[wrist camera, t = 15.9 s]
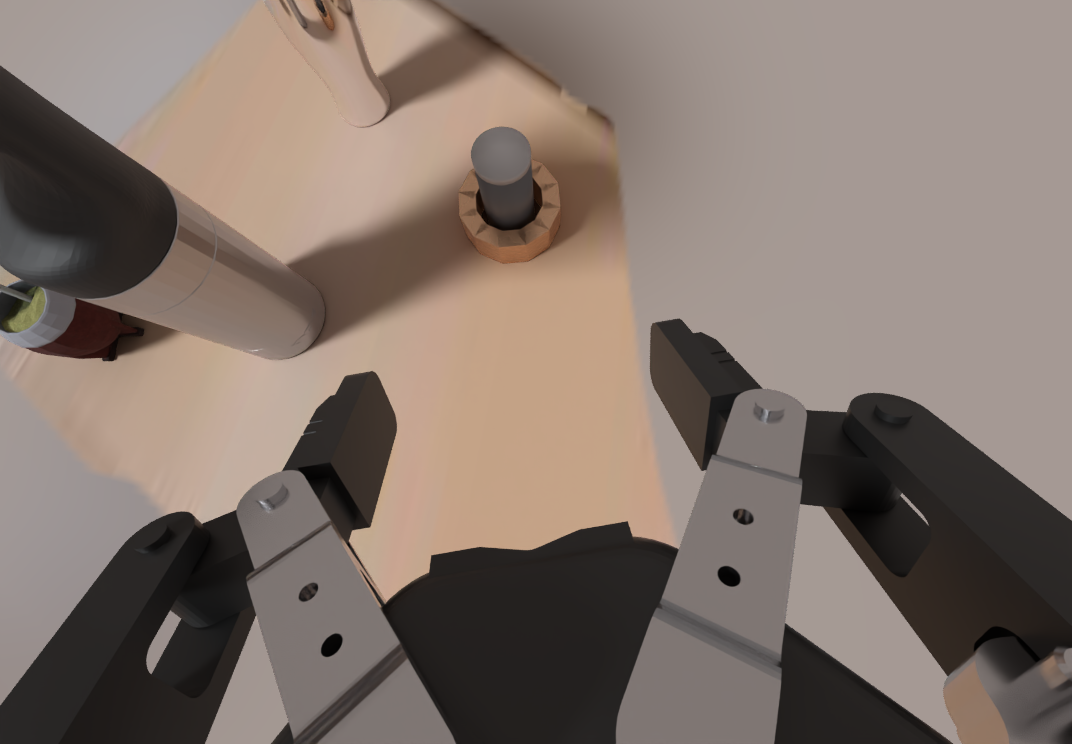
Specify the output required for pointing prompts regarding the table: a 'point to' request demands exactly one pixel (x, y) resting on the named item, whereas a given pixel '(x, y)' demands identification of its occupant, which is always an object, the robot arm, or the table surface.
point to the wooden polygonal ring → (512, 242)
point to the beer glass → (335, 54)
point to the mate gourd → (59, 323)
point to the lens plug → (504, 177)
